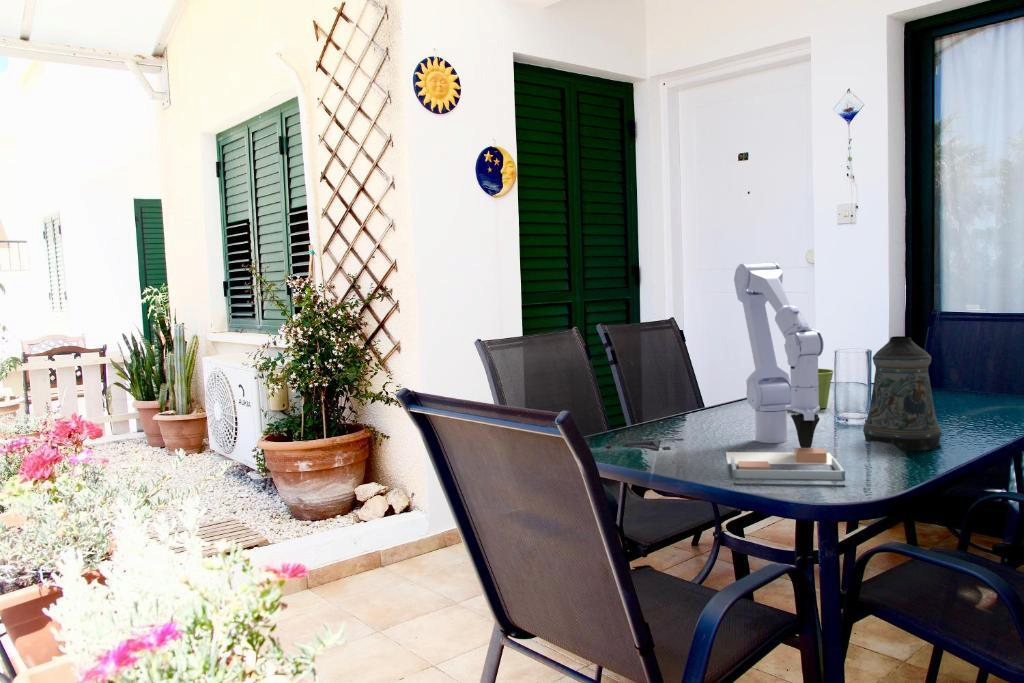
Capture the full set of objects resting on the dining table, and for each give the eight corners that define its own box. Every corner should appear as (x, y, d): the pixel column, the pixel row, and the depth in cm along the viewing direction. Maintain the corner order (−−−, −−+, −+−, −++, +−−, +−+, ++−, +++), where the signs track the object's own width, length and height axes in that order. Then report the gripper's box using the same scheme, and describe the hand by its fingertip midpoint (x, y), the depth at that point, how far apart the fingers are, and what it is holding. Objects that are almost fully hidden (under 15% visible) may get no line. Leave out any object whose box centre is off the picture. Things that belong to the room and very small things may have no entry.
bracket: (637, 461, 184) (637, 449, 184) (625, 447, 199) (624, 436, 199) (699, 458, 185) (699, 446, 185) (682, 445, 200) (681, 434, 200)
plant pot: (788, 405, 247) (787, 369, 246) (827, 404, 246) (826, 367, 245) (800, 411, 235) (799, 373, 234) (841, 410, 234) (840, 372, 234)
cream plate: (725, 458, 180) (725, 452, 180) (829, 459, 175) (829, 452, 175) (727, 470, 169) (727, 463, 169) (838, 471, 164) (838, 464, 164)
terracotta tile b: (793, 457, 172) (793, 448, 172) (823, 457, 171) (822, 448, 171) (796, 462, 167) (796, 453, 167) (826, 462, 166) (826, 453, 166)
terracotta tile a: (738, 470, 168) (737, 461, 167) (767, 470, 166) (767, 461, 166) (739, 476, 163) (739, 466, 163) (770, 476, 161) (769, 467, 161)
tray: (731, 470, 169) (730, 456, 169) (834, 471, 164) (834, 457, 164) (733, 485, 157) (733, 470, 157) (845, 486, 153) (845, 471, 152)
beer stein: (894, 453, 178) (893, 341, 176) (841, 437, 197) (840, 336, 195) (958, 447, 181) (958, 337, 180) (900, 432, 200) (899, 332, 199)
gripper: (781, 381, 183) (782, 440, 184) (788, 391, 169) (790, 454, 170) (814, 381, 181) (815, 440, 182) (824, 390, 167) (825, 454, 168)
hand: (805, 447), depth 176 cm, fingers closed
